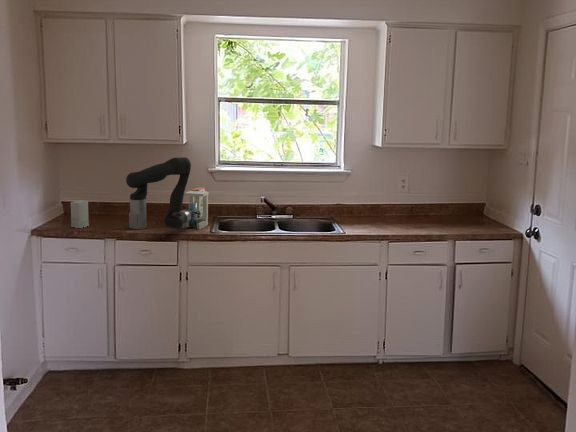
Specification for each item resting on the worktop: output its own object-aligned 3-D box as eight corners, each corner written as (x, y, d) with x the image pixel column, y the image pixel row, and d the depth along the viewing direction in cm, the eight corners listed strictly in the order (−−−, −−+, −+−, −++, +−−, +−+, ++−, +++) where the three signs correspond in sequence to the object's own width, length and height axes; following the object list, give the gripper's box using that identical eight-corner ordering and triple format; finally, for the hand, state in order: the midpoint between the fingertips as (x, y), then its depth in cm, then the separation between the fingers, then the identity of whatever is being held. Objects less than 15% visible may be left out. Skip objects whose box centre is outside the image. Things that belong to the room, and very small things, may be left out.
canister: (193, 226, 350) (193, 203, 347) (186, 225, 352) (186, 202, 350) (198, 225, 354) (199, 202, 352) (192, 224, 357) (192, 201, 354)
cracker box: (199, 222, 370) (199, 189, 366) (190, 221, 371) (190, 189, 368) (206, 218, 384) (207, 187, 380) (198, 218, 385) (198, 186, 381)
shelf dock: (200, 229, 348) (200, 195, 345) (180, 228, 350) (180, 194, 347) (208, 224, 364) (208, 191, 360) (190, 223, 366) (190, 190, 362)
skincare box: (80, 225, 348) (80, 199, 346) (89, 226, 346) (88, 200, 343) (70, 227, 341) (69, 201, 338) (79, 229, 338) (78, 202, 336)
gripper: (196, 211, 336) (205, 206, 353) (172, 209, 338) (183, 205, 355) (196, 223, 337) (205, 218, 354) (172, 222, 340) (183, 217, 356)
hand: (194, 212), depth 354 cm, fingers closed on canister, 5 cm apart
